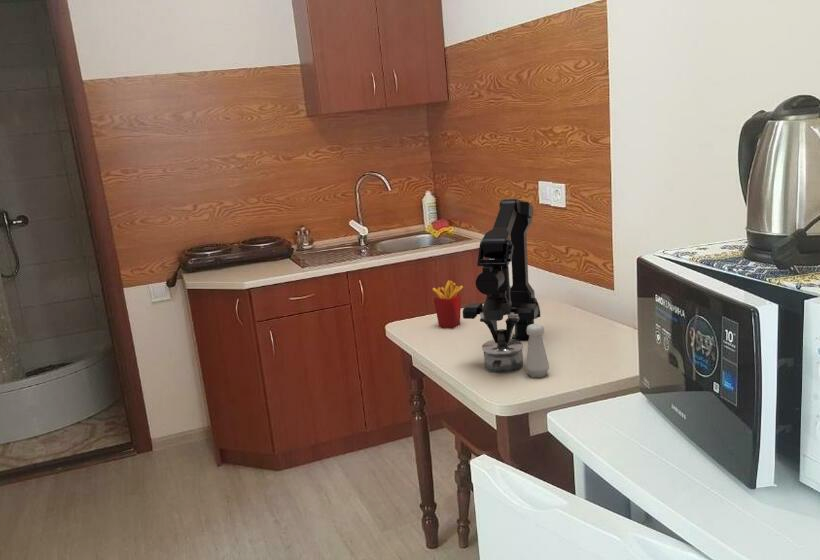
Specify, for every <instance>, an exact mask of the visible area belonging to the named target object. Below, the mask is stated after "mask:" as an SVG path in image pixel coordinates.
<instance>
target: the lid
mask: <svg viewBox="0 0 820 560" xmlns="http://www.w3.org/2000/svg"><path fill="white" fill-rule="evenodd" d="M496 333H497V343H495V341H494V339H492V340H489V341H486V342H484V343H483V344H482V345H481V349H482V351H483V353H484V352H485V353H488V354H492V355H508V354H513V353H517V352H519V351H521V350H522V351H523V349H524V343H523V342H522V341H520V340H519V339H512V338H510V341H509V343H508V344H507V342H506V328H500V329H497V331H496Z"/></svg>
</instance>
